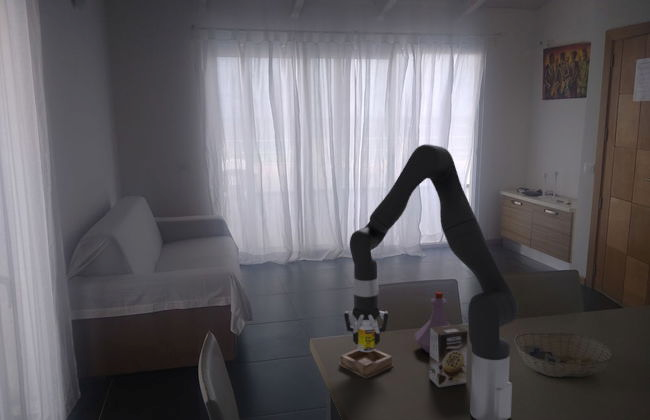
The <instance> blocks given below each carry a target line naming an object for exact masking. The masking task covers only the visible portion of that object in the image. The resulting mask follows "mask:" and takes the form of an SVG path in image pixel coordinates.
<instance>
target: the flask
mask: <svg viewBox="0 0 650 420" xmlns="http://www.w3.org/2000/svg"><path fill="white" fill-rule="evenodd" d="M434 294H435V295H434V296H435V297H433V298H431V304H432V305H433V306H432V311H431V315H430V318H429V320H428V321H426V323H425V324H424V325H423V326H422V327H421V328H419V329H418V330H417V331H416V332H415V333H414V334H413V335H414V337H415V340H416V342H417V343H418V345H419V346H420V347H421V348H422V349H423V350H424V351H425V353H427V354H430V329H431V327H439V326H447V325H451V324H450V322H448V319H447V314H446V310H445V306H446V304H447V299H445V298H444V297H443V295H444V292H443V291H435V292H434Z"/></svg>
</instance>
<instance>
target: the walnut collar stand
mask: <svg viewBox="0 0 650 420" xmlns="http://www.w3.org/2000/svg"><path fill="white" fill-rule="evenodd" d="M339 367H342V368H344V369H346V370H348V371H349V372H352V373H354V374H356V375H358V376H360V377H362V378H364V380H365V379H366V380H367V379H369V378H371V377H373V376H376V375H378V374H380V373H382V372H385V371H387V370H389V369H391V368H393V367H394V363H393V356H392V355H389V354H387V353H385V352H382V351H381V350H378V349H377V348H375V349H374V350H373V351H372V352H362V351H360V350H359V349H358V348H356V349H354V350H351V351H348V352H346V353H343V354H341V355H340V362H339Z"/></svg>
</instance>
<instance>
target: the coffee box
mask: <svg viewBox="0 0 650 420" xmlns="http://www.w3.org/2000/svg"><path fill="white" fill-rule="evenodd" d="M468 337H469V330H466V328H463V327H462V326H460V325H459V324H450V325H447V326H439V327H431V329H430V353H429V375H428V377H429V379H430V380H431V381H432V382H433V383H434V384H435V386H436V387H438V388H444V387H449V386H456V385H463V384H466V383H467V366H468V365H467V363H468V361H467V359H468V358H467V357H468Z"/></svg>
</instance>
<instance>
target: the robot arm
mask: <svg viewBox="0 0 650 420" xmlns="http://www.w3.org/2000/svg"><path fill="white" fill-rule="evenodd" d="M458 174H459V173H458V171H457V168H456V165H455V161H454V159H453V156H452V154H451V153H450V151H449V150H448V149H446V148H445V147H443V146H441V145H440V146H439V145H436V144H435V145H434V144H430V143H429V144H427V143H426V144H422V145H419V146H417V148H415V149H414V150H413V152H412V153H411V155H410V156H409V158H408V159H407V162H406V163H405V166H404V167H403V169H402V170H401V172H400V174H399V176H398V177H397V178H396V180H395V182H394V184H393V186H392V187H391V189H390V190H389V191H388V193H387V194H386V195H385V196H384V198H383V199H382V200H381V202H380V203H379V204H378V205H377V207H376V208H375V209H374V210H373V212H372V213H371V214H370V217H369V222H368V223H367V224H366V225H365V226H364V227H362V228H359V229H357V230H355V231H354V232H353V233H352V234H351V235H350V239H349V249H350V253H351V258H352V262H353V267H354V268H353V273H354V276H353V278H354V281H353V289H352V290H353V309H352V310H349V311H348V310H344V314H343V317H344V322H345V325H346V331H347V332H350V333H352V334H353V335H352V341H353V343H354V344H355V345H358V328H359V326H360V324H361V322H362V320H370V321H371V323H372V326H373V328H374V329H375V346H376V345H377V346H378V344H379V343H380V342H381V341H380V340H381V339H380V337H381V336H380V335H381V333H382V332H383V333H384V332H386V330H387V325H388V319H389V311H387V310H385V311H382V310H380V309H379V282H378V281H379V280H378V262H377V261H376V259H375V258H373V257H372V250H374V249H375V248H377V247H378V246H379V245H380V244H381V243H382V241H383V240H384V238H385V237H386V235H387V234H388V233H389V230H390V229H392V227H393V226H394V225H395V224H396V223H397V221H398V220H399V219H400V218H401V217H402V215H403V214H404V212H405V211H406V208H407V206H408V203H409V200H410V198H411V196H412V194H413V193H414V191H415V190H416V189H417V188H418V187H419V186H420V184H421V183H423V182H424V181H425V180H426V179H430V181H431V183H432V184H433V187H434V189H435V191H436V194H437V196H438V198H439V205H440V206H439V208H440V209H439V210H440V211H439V212H440V215H439V216H440V225H441V229H442V232H443V234H444V235H443V236H445V240H446V242H447V244H448V247H449V248H450V250H451V252H452V253H453V255H455V256H456V257H457V258H458V259H459V261H461V262H462V263H463V264H464V265H465V267H467V268H468V269H469V270H470V271H471V273H473V275H474V276H475V278H476V279H477V281H478V284H479V286H480V287H481V290H482V292H480V293H477V294H475V295H474V296H472V297H471V298H470V300H469V304H468V310H467V319H468V320H467V324H468V338H469V341H470V344H471V363H470V364H471V367H470V368H471V369H470V396H469V397H470V398H469V399H470V400H469V401H470V403H469V404H470V405H469V406H470V407H469V408H470V409H469V413H470V415H471V417H472V418H474V419H475V420H508V419H511V418H512V417H511V416H512V414H511V413H512V396H513V395H512V393H513V391H512V390H513V383H512V382H510V381H509V380H510V379H509V378H510V358H511V357H510V355H511V351H510V350H511V346H510V343H509V342H508V341H507V340H506V339H504V338H502V337H500V328H501V327H503V326H507V325H509V324H511V323H513V322H514V321H515V320H516V319H517V317H518V315H519V307H518V304H517V299H516V297H515V296H514V293H513V291H512V290H511V288H510V286H509V285H508V283H507V281H506V279H505V278H504V276H503V274H502V273H501V271H500V268H499V266H498V265H497V263H496V261H495V258H494V257H493V253H492V252H491V250H490V247H489V246H488V244H487V241H486V239H485V236H484V234H483V231H482V229H481V226H480V224H479V222H478V219H477V217H476V215H475V213H474V211H473V209H472V207H471V206H472V205H470V201H469V200H468V198H467V194H465V192H464V189H463V186H462V184H461V181H460V178H459V175H458ZM352 316H353V317H354V318H355V319H356V320H355V323H354V325H352V324H351V319H352ZM379 316H380V318H381V319H382V323H381V325H378V321H377V319H378V317H379Z"/></svg>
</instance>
